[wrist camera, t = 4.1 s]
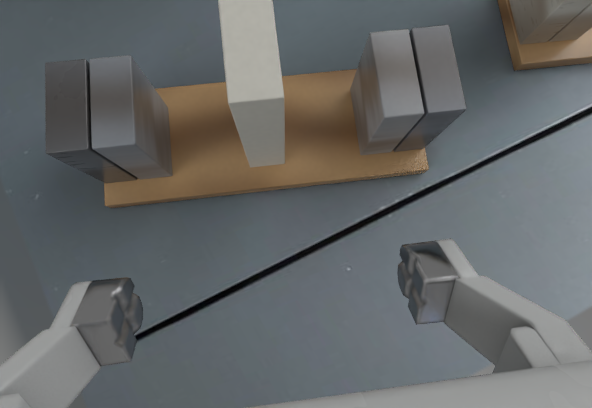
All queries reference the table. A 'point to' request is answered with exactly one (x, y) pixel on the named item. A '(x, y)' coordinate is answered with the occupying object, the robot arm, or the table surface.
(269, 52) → the tall white book
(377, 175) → the grey book rack
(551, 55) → the white book rack
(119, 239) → the table surface
